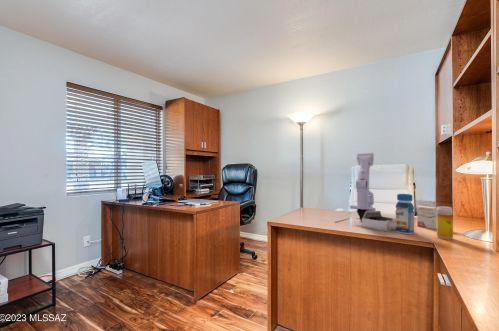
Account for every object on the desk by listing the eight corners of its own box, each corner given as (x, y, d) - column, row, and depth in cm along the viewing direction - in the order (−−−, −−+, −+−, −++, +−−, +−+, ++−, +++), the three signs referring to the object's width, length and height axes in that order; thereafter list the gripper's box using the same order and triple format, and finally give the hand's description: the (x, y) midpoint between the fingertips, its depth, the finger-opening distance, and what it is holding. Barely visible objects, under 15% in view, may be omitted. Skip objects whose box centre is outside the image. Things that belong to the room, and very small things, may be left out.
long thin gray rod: (348, 218, 161) (348, 218, 161) (350, 218, 161) (350, 218, 161) (334, 222, 150) (334, 222, 150) (335, 222, 149) (335, 222, 149)
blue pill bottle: (417, 235, 122) (417, 195, 122) (399, 234, 123) (399, 195, 123) (409, 230, 130) (409, 193, 130) (392, 230, 131) (392, 193, 132)
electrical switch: (374, 221, 145) (378, 209, 142) (379, 227, 141) (384, 214, 137) (360, 222, 144) (363, 209, 141) (364, 227, 140) (368, 214, 136)
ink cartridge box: (417, 226, 139) (416, 201, 140) (418, 225, 143) (418, 200, 143) (435, 229, 134) (435, 202, 134) (436, 227, 137) (436, 201, 137)
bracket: (373, 223, 148) (373, 213, 148) (396, 227, 138) (396, 217, 138) (362, 226, 138) (362, 216, 139) (387, 231, 128) (386, 220, 128)
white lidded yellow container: (454, 240, 112) (453, 208, 112) (437, 238, 115) (437, 207, 115) (451, 237, 117) (451, 206, 117) (436, 235, 120) (435, 205, 121)
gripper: (347, 198, 149) (347, 220, 149) (371, 201, 138) (371, 225, 137) (353, 197, 153) (353, 219, 153) (377, 200, 142) (377, 223, 142)
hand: (362, 221), depth 146 cm, fingers closed
